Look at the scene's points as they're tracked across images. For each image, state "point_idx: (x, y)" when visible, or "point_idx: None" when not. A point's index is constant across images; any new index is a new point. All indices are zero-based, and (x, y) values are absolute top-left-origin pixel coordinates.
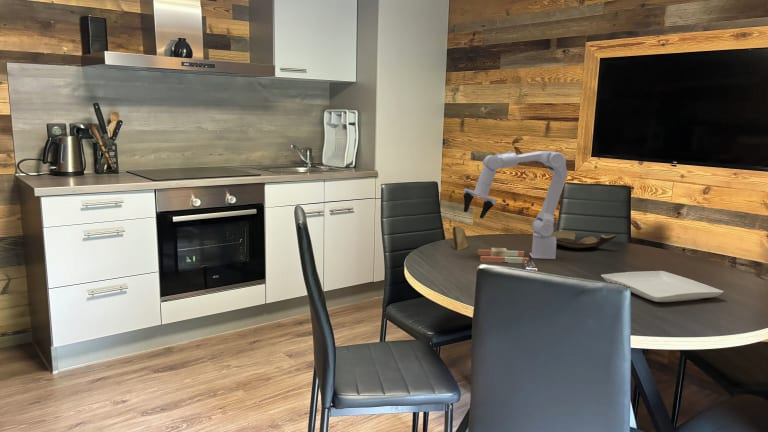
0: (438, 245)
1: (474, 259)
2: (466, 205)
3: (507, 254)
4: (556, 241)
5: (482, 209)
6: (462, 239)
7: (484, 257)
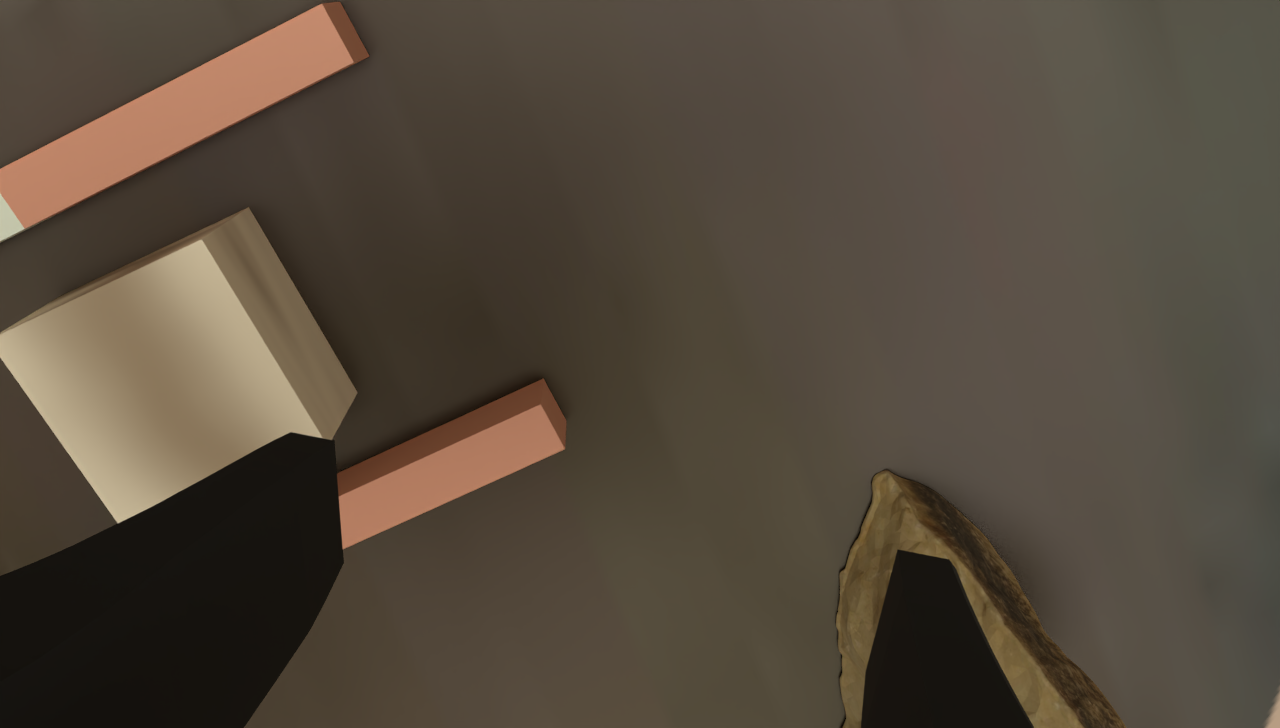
0: (1219, 575)
1: (479, 87)
2: (922, 715)
3: None
4: None
5: (133, 589)
6: None
7: (272, 30)
